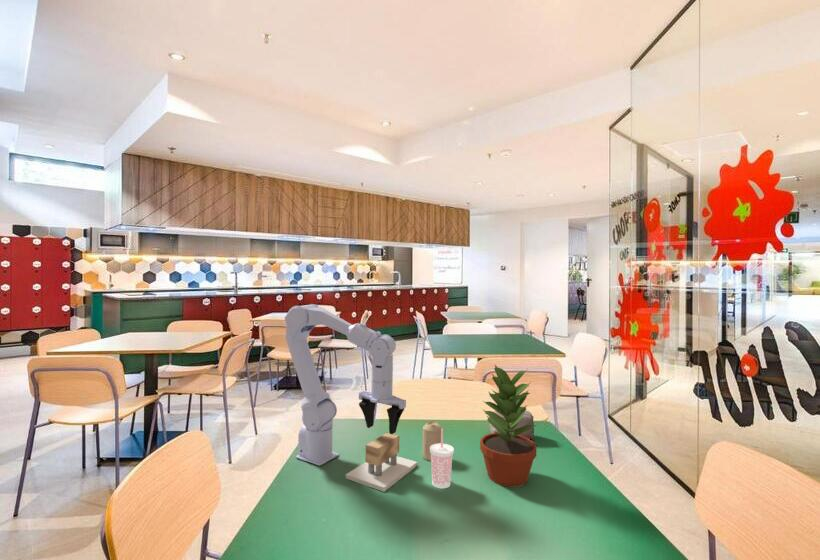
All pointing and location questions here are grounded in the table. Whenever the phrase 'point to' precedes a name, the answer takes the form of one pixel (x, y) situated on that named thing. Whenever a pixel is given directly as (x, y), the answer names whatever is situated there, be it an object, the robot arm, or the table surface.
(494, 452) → the potted plant
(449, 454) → the beverage cup
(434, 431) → the candle
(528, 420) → the food item
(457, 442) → the table surface
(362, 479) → the peg base
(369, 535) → the table surface
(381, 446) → the tan rectangular block
